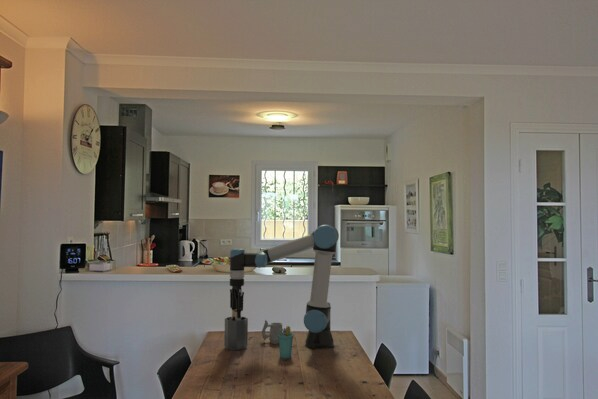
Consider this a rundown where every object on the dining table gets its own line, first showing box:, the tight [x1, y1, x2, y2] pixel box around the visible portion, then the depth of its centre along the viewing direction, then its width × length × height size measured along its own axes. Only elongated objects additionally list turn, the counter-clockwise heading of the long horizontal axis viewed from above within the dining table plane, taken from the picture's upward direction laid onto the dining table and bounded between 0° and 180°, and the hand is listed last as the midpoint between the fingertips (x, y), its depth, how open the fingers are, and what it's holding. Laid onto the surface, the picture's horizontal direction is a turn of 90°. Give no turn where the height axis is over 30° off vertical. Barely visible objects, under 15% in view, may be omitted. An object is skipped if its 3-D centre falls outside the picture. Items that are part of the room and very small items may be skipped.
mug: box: [261, 319, 284, 345], centre depth 255 cm, size 8×12×12 cm, turn 98°
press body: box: [223, 316, 249, 351], centre depth 244 cm, size 15×11×15 cm
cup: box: [278, 325, 294, 359], centre depth 226 cm, size 14×8×15 cm, turn 175°
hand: (236, 323), depth 243 cm, fingers closed on plunger, 4 cm apart
